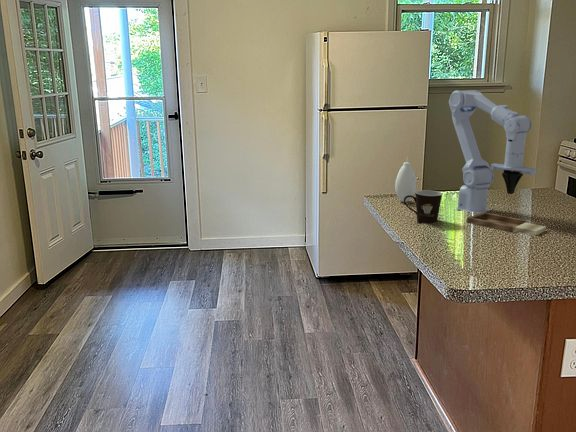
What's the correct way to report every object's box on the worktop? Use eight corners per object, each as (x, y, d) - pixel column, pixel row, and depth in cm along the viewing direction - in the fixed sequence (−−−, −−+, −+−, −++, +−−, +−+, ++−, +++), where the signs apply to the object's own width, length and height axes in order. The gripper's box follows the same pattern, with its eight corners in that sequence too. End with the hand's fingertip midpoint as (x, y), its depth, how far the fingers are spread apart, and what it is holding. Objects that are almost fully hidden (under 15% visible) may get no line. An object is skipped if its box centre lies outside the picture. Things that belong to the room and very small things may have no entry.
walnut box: (466, 224, 179) (467, 217, 179) (483, 218, 186) (483, 212, 186) (510, 233, 168) (511, 227, 168) (526, 227, 176) (526, 220, 175)
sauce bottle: (416, 204, 206) (419, 157, 202) (396, 204, 206) (398, 157, 202) (412, 199, 214) (415, 154, 209) (392, 199, 214) (395, 154, 209)
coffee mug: (444, 221, 182) (446, 192, 179) (432, 227, 176) (434, 197, 173) (414, 215, 190) (415, 187, 187) (401, 220, 184) (402, 191, 181)
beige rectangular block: (514, 234, 169) (515, 227, 169) (524, 229, 174) (525, 222, 174) (535, 238, 165) (536, 231, 164) (545, 233, 170) (546, 226, 169)
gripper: (488, 152, 180) (484, 191, 184) (531, 156, 170) (526, 198, 173) (498, 149, 185) (494, 188, 188) (540, 154, 175) (536, 195, 178)
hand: (510, 193), depth 181 cm, fingers closed
